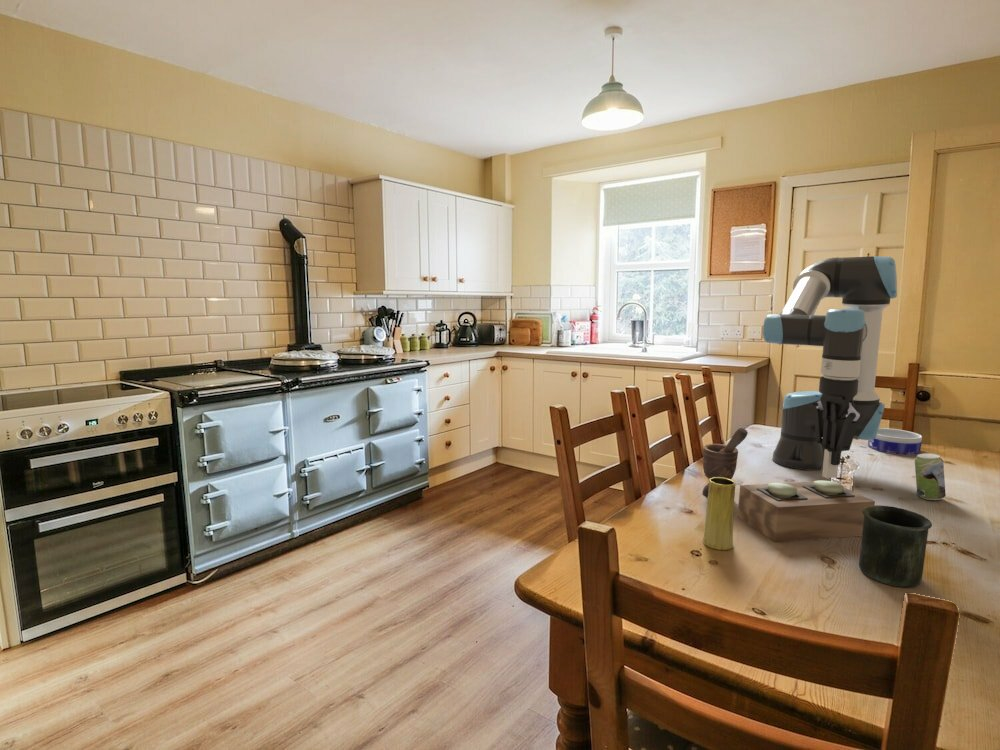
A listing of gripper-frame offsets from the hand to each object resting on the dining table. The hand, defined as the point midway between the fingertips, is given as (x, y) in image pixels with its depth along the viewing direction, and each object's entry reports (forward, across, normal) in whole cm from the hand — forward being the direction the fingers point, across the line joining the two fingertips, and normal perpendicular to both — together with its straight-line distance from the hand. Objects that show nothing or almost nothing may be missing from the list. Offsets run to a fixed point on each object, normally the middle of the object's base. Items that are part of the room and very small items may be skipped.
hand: (829, 476), depth 129 cm
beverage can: (+12, -11, +40) cm, 43 cm away
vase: (+11, +6, -31) cm, 34 cm away
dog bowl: (+13, -54, +72) cm, 90 cm away
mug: (+12, +22, -4) cm, 26 cm away
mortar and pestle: (+12, -20, -14) cm, 27 cm away
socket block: (+12, 0, -6) cm, 13 cm away
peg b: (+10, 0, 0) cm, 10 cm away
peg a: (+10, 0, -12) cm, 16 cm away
